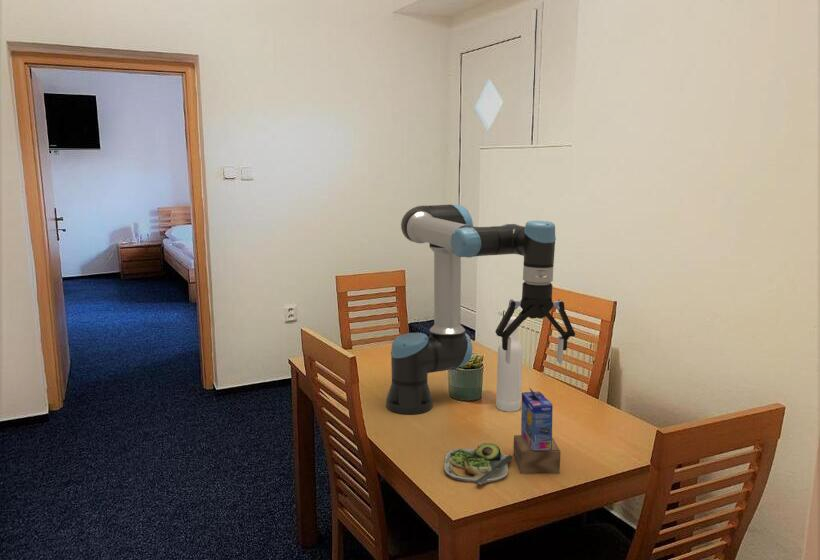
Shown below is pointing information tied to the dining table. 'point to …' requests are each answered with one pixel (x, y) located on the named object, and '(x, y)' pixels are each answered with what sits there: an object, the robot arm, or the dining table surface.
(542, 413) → the ink cartridge box
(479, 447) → the avocado toast plate
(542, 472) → the brown wooden block
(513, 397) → the bottle
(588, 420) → the dining table surface
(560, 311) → the robot arm
